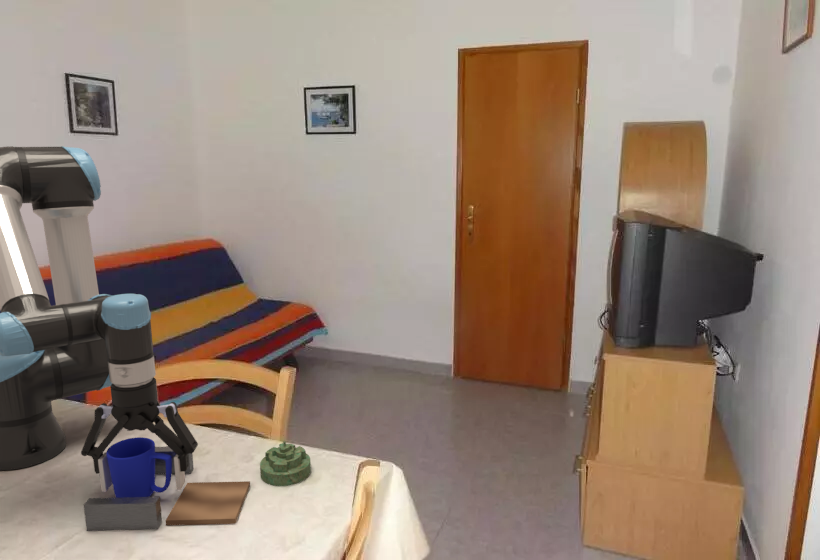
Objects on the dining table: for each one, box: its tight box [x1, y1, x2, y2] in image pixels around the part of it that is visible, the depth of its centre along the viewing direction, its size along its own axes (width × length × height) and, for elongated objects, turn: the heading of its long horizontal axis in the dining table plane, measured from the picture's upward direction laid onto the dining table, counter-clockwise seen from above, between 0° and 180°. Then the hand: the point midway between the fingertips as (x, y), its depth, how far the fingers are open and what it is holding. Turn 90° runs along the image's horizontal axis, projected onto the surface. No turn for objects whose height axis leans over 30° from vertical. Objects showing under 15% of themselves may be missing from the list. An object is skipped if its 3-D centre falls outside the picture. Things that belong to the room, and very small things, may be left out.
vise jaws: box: [83, 445, 194, 532], centre depth 113 cm, size 23×12×5 cm, turn 3°
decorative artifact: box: [259, 440, 312, 487], centre depth 120 cm, size 10×7×10 cm
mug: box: [106, 437, 172, 498], centre depth 111 cm, size 8×12×10 cm
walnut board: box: [165, 480, 251, 526], centre depth 110 cm, size 12×12×1 cm
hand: (144, 487), depth 112 cm, fingers open, 13 cm apart
